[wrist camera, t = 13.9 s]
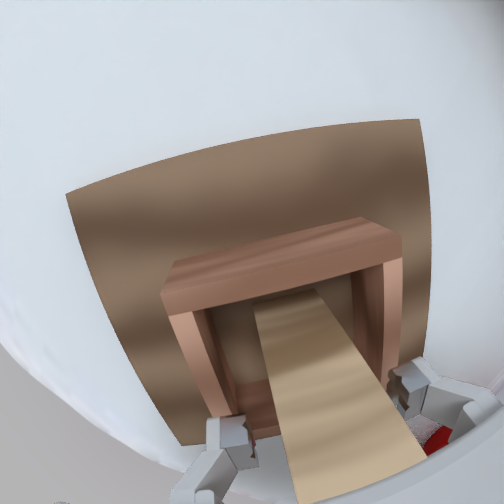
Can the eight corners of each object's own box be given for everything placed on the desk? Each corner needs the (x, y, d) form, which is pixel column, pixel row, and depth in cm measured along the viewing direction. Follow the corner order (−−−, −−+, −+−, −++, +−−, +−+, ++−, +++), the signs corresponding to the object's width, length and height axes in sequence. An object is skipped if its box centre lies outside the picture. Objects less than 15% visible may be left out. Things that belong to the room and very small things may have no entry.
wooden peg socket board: (73, 192, 14) (22, 206, 9) (409, 120, 14) (465, 113, 10) (182, 437, 20) (178, 485, 15) (412, 375, 21) (441, 412, 16)
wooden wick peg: (252, 303, 16) (303, 525, 4) (314, 287, 16) (437, 473, 4) (264, 353, 17) (311, 546, 5) (320, 338, 17) (410, 511, 5)
